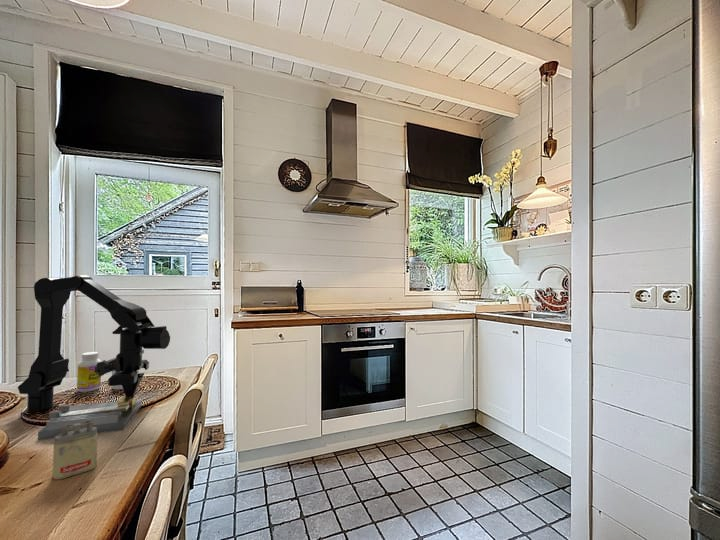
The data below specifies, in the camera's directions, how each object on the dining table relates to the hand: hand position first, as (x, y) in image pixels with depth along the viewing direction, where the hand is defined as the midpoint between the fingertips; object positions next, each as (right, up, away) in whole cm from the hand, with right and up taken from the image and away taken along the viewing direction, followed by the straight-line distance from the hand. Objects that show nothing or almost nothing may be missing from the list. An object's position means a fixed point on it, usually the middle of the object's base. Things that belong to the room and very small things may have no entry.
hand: (129, 400), depth 103 cm
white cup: (-17, -4, +22) cm, 28 cm away
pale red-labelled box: (+10, -3, -32) cm, 34 cm away
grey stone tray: (-4, -3, -8) cm, 9 cm away
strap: (-4, 0, -10) cm, 10 cm away
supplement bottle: (-27, -3, +18) cm, 33 cm away
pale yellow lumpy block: (+1, -1, -4) cm, 4 cm away
